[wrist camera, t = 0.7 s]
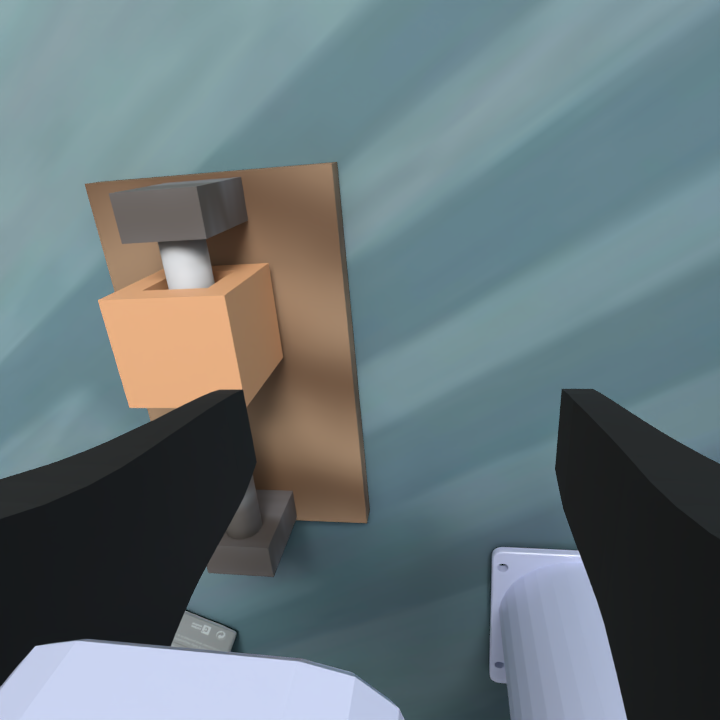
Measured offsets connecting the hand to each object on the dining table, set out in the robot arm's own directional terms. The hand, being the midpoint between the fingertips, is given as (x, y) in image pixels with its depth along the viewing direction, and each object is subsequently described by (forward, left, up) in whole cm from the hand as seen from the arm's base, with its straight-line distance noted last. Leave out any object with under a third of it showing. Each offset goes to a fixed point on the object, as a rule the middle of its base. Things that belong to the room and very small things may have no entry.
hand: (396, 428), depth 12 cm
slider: (0, +8, -9) cm, 12 cm away
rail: (-3, +8, -10) cm, 13 cm away
